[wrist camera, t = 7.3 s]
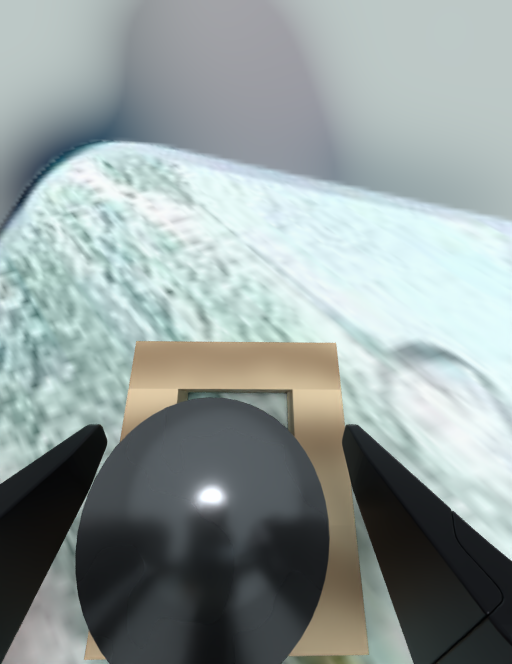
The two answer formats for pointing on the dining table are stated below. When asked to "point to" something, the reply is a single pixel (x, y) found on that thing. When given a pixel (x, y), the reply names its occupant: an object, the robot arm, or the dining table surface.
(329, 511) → the slot board
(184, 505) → the pin
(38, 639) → the dining table surface
